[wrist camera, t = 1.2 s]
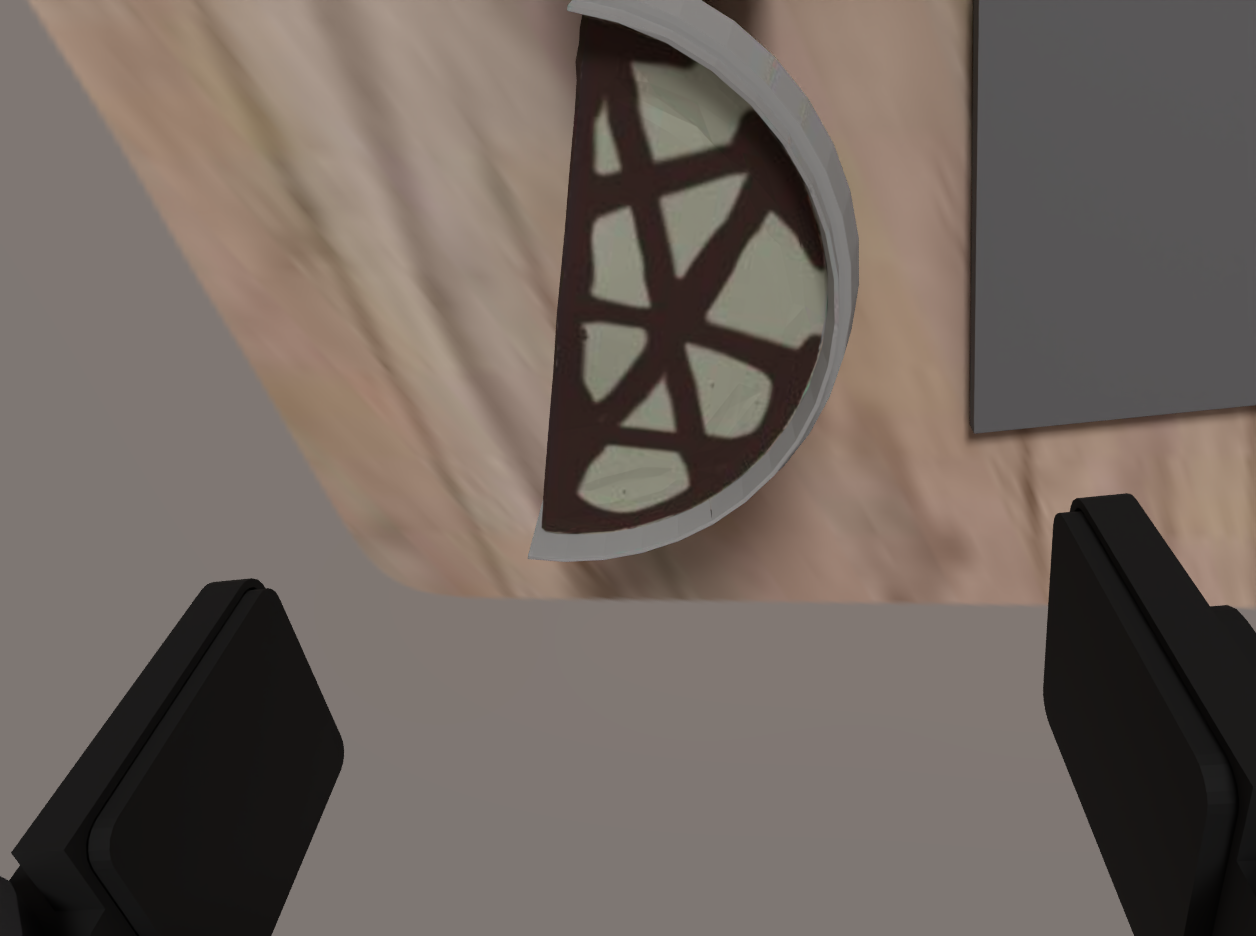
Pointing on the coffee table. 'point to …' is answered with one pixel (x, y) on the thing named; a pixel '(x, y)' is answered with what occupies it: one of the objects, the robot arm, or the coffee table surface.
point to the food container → (688, 280)
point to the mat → (1112, 210)
